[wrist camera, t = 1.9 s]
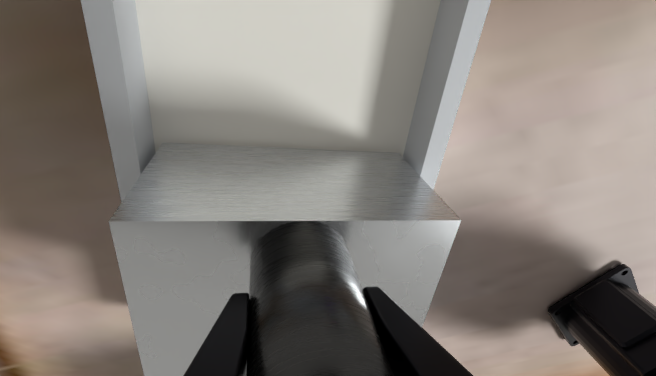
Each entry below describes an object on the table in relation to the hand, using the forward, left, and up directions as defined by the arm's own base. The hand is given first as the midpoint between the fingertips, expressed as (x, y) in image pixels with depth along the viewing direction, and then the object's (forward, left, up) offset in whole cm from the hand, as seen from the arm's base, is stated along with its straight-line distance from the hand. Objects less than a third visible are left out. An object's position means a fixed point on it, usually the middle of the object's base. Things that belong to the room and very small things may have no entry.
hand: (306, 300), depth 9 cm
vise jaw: (-2, +2, -7) cm, 7 cm away
